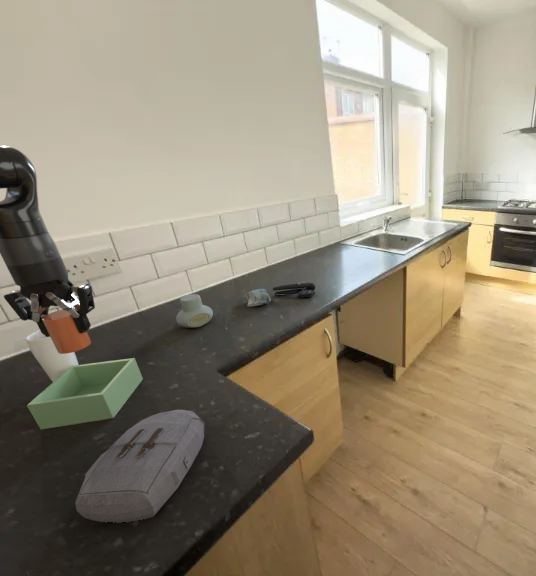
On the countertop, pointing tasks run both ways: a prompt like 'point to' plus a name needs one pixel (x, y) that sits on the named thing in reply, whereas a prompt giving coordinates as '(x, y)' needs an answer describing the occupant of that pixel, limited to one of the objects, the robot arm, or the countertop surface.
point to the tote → (86, 393)
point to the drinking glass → (50, 355)
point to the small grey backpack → (141, 468)
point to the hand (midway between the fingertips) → (68, 332)
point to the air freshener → (193, 312)
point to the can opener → (297, 289)
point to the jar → (65, 332)
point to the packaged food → (257, 297)
